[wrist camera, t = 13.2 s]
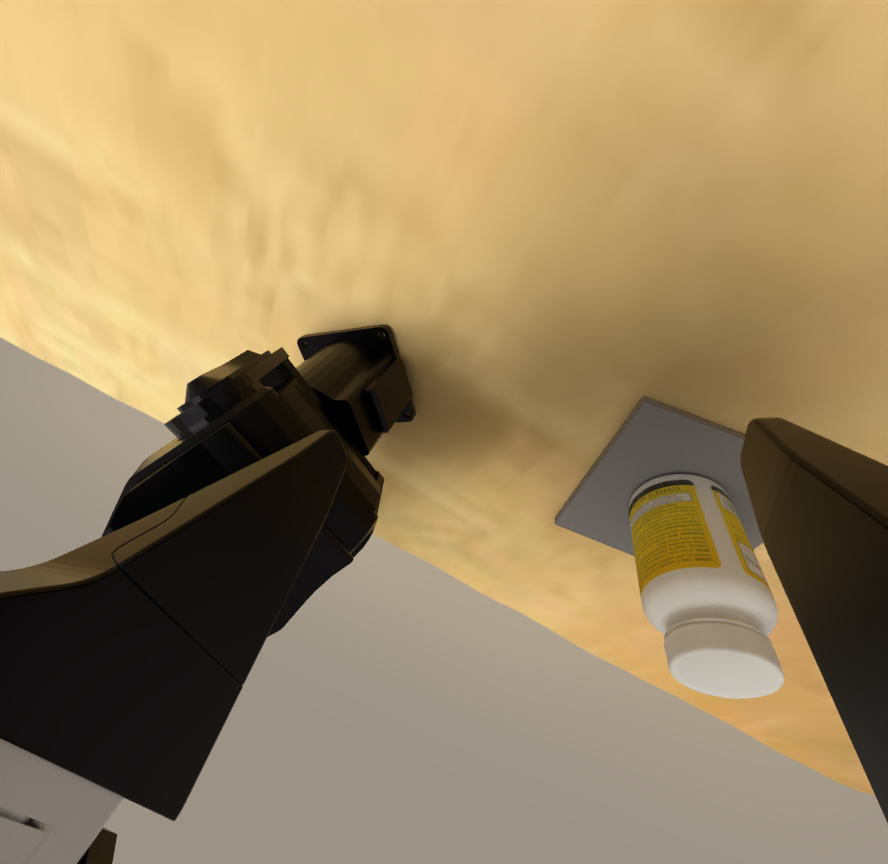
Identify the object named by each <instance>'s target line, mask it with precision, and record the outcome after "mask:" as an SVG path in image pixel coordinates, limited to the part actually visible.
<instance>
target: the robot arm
mask: <svg viewBox="0 0 888 864" xmlns="http://www.w3.org/2000/svg"><path fill="white" fill-rule="evenodd" d="M380 331H382V332H384V333H385V337H383V336H381V334H380ZM304 341H305V342H306V343H307V344H308V346H307V345H306V344H305V342H304ZM297 344H298V347H299V349H300V351H301V354H302V356H303V358H304V360H305V361H304V362H303V363H302V364H301V365H299V366H298V367H297V368H295V367H294V365H293V364H292V363H291V361H290V360H289V359H288V357H289V355H288V354H287V353H286V351H285V350H284V349H283V348H282V347H281V348H280V349H278V350H277V351H275V352H273V353H272V354H271V352H270V351H269V350H268V351H266V352H265V353H263V354H261V355H260V354H257V353H255V352H252V351H249V350H247V351H245V352H244V353H242V354H240V355H239V356H237V357H235V358H234V359H232V360H230V361H229V362H227V363H225V364H223V365H221V366H219V367H217V368H215V369H213V370H211V371H209V372H207V373H205V374H203V375H201V376H199V377H197V378H196V379H194V380H193V381H191V382H190V383H188V384H187V389H186V398H185V404H183V405H182V406H180V407H179V408H177V409H178V410H179V411H180V412H181V413H180V414H178V415H177V416H175V417H174V418H173V419H171V420H170V421H168V422H167V423H165V424H164V425H165V426H166V427H167V428H168V429H169V430H170V431H171V432H172V433H173V434H174V435H175V436H176V437H177V438H176V439H174V440H173V441H171V442H170V443H168V444H167V445H165V446H164V447H162V448H161V449H159V450H158V451H157V452H155V453H154V454H152V455H151V456H149V457H148V458H147V459H146V460H145V461H144V462H143V463H142V464H141V465H140V467H139V468H138V469H137V470H136V471H135V473H134V474H133V475H132V477H131V478H130V479H129V481H128V482H127V484H126V485H125V487H124V489H123V492H122V494H121V496H120V498H119V500H118V502H117V504H116V507H115V509H114V511H113V513H112V515H111V517H110V520H109V522H108V524H107V526H106V528H105V530H104V533H103V535H102V537H101V538H99V539H97V540H95V541H93V542H90V543H88V544H86V545H84V546H81V547H79V548H77V549H75V550H73V551H70V552H68V553H66V554H64V555H62V556H59V557H57V558H55V559H52V560H50V561H47V562H44V563H41V564H38V565H35V566H31V567H27V568H23V569H17V570H11V571H0V864H112V861H113V856H114V850H115V844H116V838H117V834H116V833H114V832H112V831H110V830H108V829H106V828H104V825H105V824H106V822H107V821H108V819H109V818H110V816H111V815H112V814H113V812H114V811H115V810H116V808H117V807H118V805H119V804H120V802H121V801H122V800H123V798H126V799H128V800H130V801H132V802H134V803H136V804H139V805H141V806H143V807H145V808H147V809H149V810H151V811H153V812H155V813H157V814H160V815H162V816H164V817H166V818H168V819H170V820H172V821H175V820H176V818H177V817H178V815H179V814H180V812H181V810H182V808H183V807H184V805H185V803H186V801H187V799H188V797H189V795H190V793H191V791H192V789H193V787H194V785H195V783H196V780H197V778H198V776H199V774H200V772H201V770H202V768H203V766H204V764H205V762H206V760H207V758H208V756H209V754H210V752H211V750H212V748H213V746H214V744H215V742H216V740H217V737H218V736H219V734H220V732H221V730H222V728H223V726H224V724H225V722H226V720H227V718H228V716H229V713H230V712H231V710H232V707H233V706H234V703H235V701H236V699H237V697H238V695H239V693H240V691H241V689H242V685H243V684H244V683H245V680H246V679H247V676H248V674H249V672H250V670H251V668H252V666H253V664H254V662H255V660H256V658H257V656H258V654H259V652H260V650H261V648H262V646H263V644H264V642H265V640H266V638H267V637H268V636H270V635H272V634H274V633H276V632H277V631H279V630H281V629H282V628H283V627H284V626H285V625H286V623H287V622H288V621H289V620H290V619H291V618H292V616H293V615H294V614H295V613H296V612H297V611H298V609H299V608H300V607H301V606H302V605H303V604H304V602H305V601H306V600H307V599H308V598H309V597H310V596H311V595H312V594H313V593H314V592H315V591H316V590H317V589H318V588H319V587H320V586H321V585H323V584H324V583H325V582H326V581H327V580H328V579H329V578H330V577H331V576H333V575H334V574H336V573H337V572H339V571H340V570H341V569H343V568H344V567H346V566H347V565H349V564H350V563H351V562H352V561H353V558H354V556H356V555H357V553H358V552H359V551H360V550H361V549H362V548H363V547H364V546H365V544H366V543H367V541H368V540H369V538H370V537H371V535H372V533H373V530H374V527H375V524H376V522H377V518H378V515H377V513H378V508H379V503H380V498H381V493H382V488H383V483H384V478H383V477H382V475H381V474H380V473H379V472H378V471H377V472H376V471H375V469H374V468H373V467H372V465H371V464H370V463H369V462H368V460H367V459H366V458H365V456H366V455H368V454H369V452H370V451H371V450H372V448H373V447H374V445H375V444H376V442H377V441H378V439H379V438H380V437H381V435H382V434H383V433H388V432H389V430H390V429H391V427H392V426H393V424H394V423H395V422H410V421H412V420H413V419H414V417H415V415H416V412H415V409H414V405H413V402H412V396H413V394H412V391H411V387H410V384H409V380H408V377H407V374H406V370H405V367H404V363H403V361H402V360H401V359H400V358H399V355H398V352H397V348H396V345H395V342H394V338H393V335H392V332H391V330H390V328H389V327H388V326H386V325H375V326H368V327H361V328H353V329H346V330H339V331H331V332H324V333H317V334H309V335H304V336H302V337H300V338H299V339H298V341H297ZM405 412H408V413H409V414H410V415H407V414H406V413H405ZM740 464H741V469H742V472H743V476H744V479H745V483H746V486H747V490H748V493H749V497H750V500H751V504H752V507H753V511H754V514H755V518H756V521H757V525H758V528H759V531H760V534H761V537H762V540H763V542H764V545H765V547H766V550H767V552H768V554H769V556H770V559H771V561H772V563H773V566H774V568H775V570H776V572H777V575H778V577H779V579H780V581H781V584H782V586H783V588H784V590H785V593H786V595H787V597H788V599H789V602H790V604H791V606H792V608H793V611H794V613H795V615H796V617H797V620H798V622H799V624H800V626H801V629H802V631H803V633H804V635H805V638H806V640H807V642H808V644H809V647H810V649H811V651H812V653H813V656H814V658H815V660H816V663H817V665H818V667H819V669H820V672H821V674H822V676H823V678H824V681H825V683H826V685H827V687H828V690H829V692H830V694H831V696H832V699H833V701H834V703H835V705H836V708H837V710H838V712H839V714H840V717H841V719H842V721H843V723H844V726H845V728H846V730H847V732H848V735H849V737H850V739H851V741H852V744H853V746H854V748H855V750H856V753H857V755H858V757H859V760H860V762H861V764H862V766H863V769H864V771H865V773H866V775H867V778H868V780H869V782H870V784H871V787H872V789H873V791H874V793H875V796H876V798H877V800H878V802H879V805H880V807H881V809H882V811H883V813H884V816H885V818H886V820H887V823H888V466H887V465H884V464H882V463H880V462H878V461H876V460H873V459H871V458H869V457H867V456H864V455H862V454H860V453H858V452H855V451H853V450H851V449H849V448H847V447H844V446H842V445H840V444H838V443H835V442H833V441H831V440H829V439H827V438H824V437H822V436H820V435H818V434H815V433H813V432H811V431H809V430H807V429H804V428H802V427H800V426H798V425H795V424H793V423H791V422H789V421H786V420H784V419H782V418H755V419H753V420H751V421H750V423H749V424H748V427H747V431H746V435H745V439H744V443H743V447H742V451H741V455H740Z"/></svg>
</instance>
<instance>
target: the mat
mask: <svg viewBox="0 0 888 864" xmlns="http://www.w3.org/2000/svg"><path fill="white" fill-rule="evenodd" d="M744 439H745V435H744V434H742V433H739V432H736V431H734V430H731V429H728V428H726V427H723V426H720V425H718V424H715V423H712V422H710V421H707V420H704V419H702V418H699V417H697V416H694V415H691V414H689V413H686V412H683V411H681V410H678V409H675V408H673V407H670V406H667V405H665V404H662V403H659V402H657V401H654V400H651V399H649V398H646V397H643V398H642V399H641V401H640V402H639V403H638V405H637V406H636V408H635V409H634V410H633V412H632V413H631V414H630V416H629V417H628V418H627V420H626V421H625V423H624V424H623V425H622V427H621V428H620V429H619V431H618V432H617V434H616V435H615V436H614V438H613V439H612V440H611V442H610V443H609V444H608V446H607V447H606V449H605V450H604V451H603V453H602V454H601V455H600V457H599V458H598V460H597V461H596V462H595V464H594V465H593V466H592V468H591V469H590V470H589V472H588V473H587V475H586V476H585V477H584V479H583V480H582V481H581V483H580V484H579V485H578V487H577V488H576V490H575V491H574V492H573V494H572V495H571V496H570V498H569V499H568V501H567V502H566V503H565V505H564V506H563V507H562V509H561V510H560V511H559V513H558V514H557V516H556V517H555V524H556V525H558V526H561V527H563V528H566V529H568V530H571V531H573V532H576V533H578V534H581V535H583V536H586V537H588V538H591V539H593V540H596V541H598V542H601V543H603V544H606V545H608V546H611V547H613V548H616V549H618V550H621V551H623V552H626V553H628V554H631V555H633V556H635V554H634V547H633V540H632V534H631V527H630V520H629V502H630V499H631V497H632V495H633V494H634V492H635V491H636V490H637V489H638V488H639V487H640V486H642V485H643V484H645V483H646V482H648V481H650V480H652V479H654V478H657V477H661V476H665V475H672V474H689V475H696V476H700V477H704V478H706V479H709V480H711V481H713V482H715V483H717V484H718V485H719V486H721V487H722V488H723V489H724V490H725V492H726V493H727V494H728V496H729V498H730V500H731V501H732V504H733V506H734V508H735V510H736V512H737V515H738V517H739V519H740V522H741V524H742V526H743V528H744V531H745V533H746V535H747V538H748V540H749V542H750V545H751V547H752V549H755V548H756V547H757V546H759V545H760V544H762V543H763V540H762V537H761V534H760V531H759V528H758V525H757V521H756V518H755V514H754V511H753V507H752V504H751V500H750V497H749V493H748V490H747V486H746V483H745V479H744V476H743V472H742V469H741V464H740V455H741V451H742V447H743V443H744Z"/></svg>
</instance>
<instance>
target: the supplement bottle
mask: <svg viewBox="0 0 888 864" xmlns="http://www.w3.org/2000/svg"><path fill="white" fill-rule="evenodd" d="M629 520H630V527H631V534H632V540H633V547H634V554H635V561H636V568H637V575H638V581H639V588H640V594H641V601H642V605H643V609H644V612H645V615H646V616H647V618H648V620H649V621H650V623H651V624H652V625H653V626H654V627H655V628H656V629H657V630H658V631H660V632H661V633H662V634H664V647H665V651H666V656H667V661H668V666H669V670H670V672H671V674H672V676H673V677H674V678H675V679H676V680H677V681H679V682H680V683H681V684H683V685H684V686H686V687H688V688H690V689H693V690H695V691H698V692H701V693H704V694H708V695H712V696H717V697H724V698H737V699H744V698H756V697H762V696H766V695H769V694H772V693H774V692H775V691H777V690H778V689H780V688H781V686H782V685H783V683H784V674H783V671H782V668H781V666H780V663H779V660H778V657H777V655H776V652H775V649H774V648H773V646H772V642H771V641H770V639H769V638H768V635H769V634H770V633H771V632H772V630H773V629H774V628H775V626H776V624H777V620H778V610H777V605H776V603H775V600H774V597H773V595H772V592H771V590H770V588H769V586H768V583H767V581H766V579H765V577H764V575H763V572H762V570H761V567H760V565H759V563H758V561H757V558H756V556H755V554H754V551H753V549H752V547H751V545H750V542H749V540H748V538H747V535H746V533H745V531H744V528H743V526H742V524H741V522H740V519H739V517H738V515H737V512H736V510H735V508H734V506H733V504H732V501H731V500H730V498H729V496H728V494H727V493H726V492H725V490H724V489H723V488H722V487H721V486H719V485H718V484H717V483H715V482H713V481H711V480H709V479H706V478H704V477H700V476H696V475H689V474H672V475H665V476H661V477H657V478H654V479H652V480H650V481H648V482H646V483H645V484H643V485H642V486H640V487H639V488H638V489H637V490H636V491H635V492H634V494H633V495H632V497H631V499H630V502H629Z"/></svg>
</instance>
